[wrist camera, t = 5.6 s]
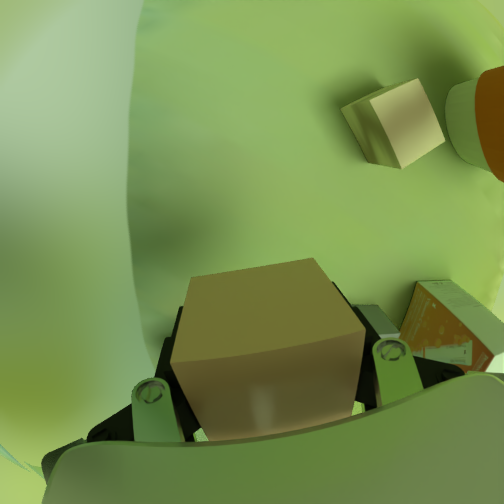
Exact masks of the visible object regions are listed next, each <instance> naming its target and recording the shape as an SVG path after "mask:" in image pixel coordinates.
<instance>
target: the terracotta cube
mask: <svg viewBox="0 0 504 504" xmlns="http://www.w3.org/2000/svg"><path fill="white" fill-rule="evenodd" d="M365 332H366V329H365V327H364V326H363V324H362V323H361V322H360V320H359V319H358V317H357V316H356V315H355V313H354V312H353V311H352V309H351V308H350V306H349V305H348V304H347V302H346V301H345V300H344V298H343V297H342V295H341V294H340V293H339V291H338V290H337V289H336V287H335V286H334V285H333V283H332V282H331V281H330V279H329V278H328V277H327V275H326V274H325V273H324V271H323V270H322V269H321V267H320V266H319V265H318V264H317V262H316V261H315V260H314V258H308V259H302V260H297V261H291V262H285V263H279V264H273V265H267V266H261V267H254V268H248V269H242V270H236V271H229V272H223V273H217V274H210V275H204V276H197V277H191V280H190V284H189V287H188V291H187V295H186V299H185V303H184V306H183V310H182V314H181V318H180V322H179V326H178V331H177V335H176V339H175V343H174V347H173V352H172V356H171V360H170V364H171V366H172V369H173V371H174V373H175V375H176V377H177V380H178V382H179V384H180V386H181V388H182V390H183V392H184V394H185V396H186V398H187V400H188V402H189V404H190V406H191V408H192V410H193V412H194V414H195V416H196V418H197V420H198V422H199V424H200V425H201V427H202V429H203V431H204V433H205V435H206V436H207V438H208V440H209V441H220V440H232V439H241V438H250V437H258V436H265V435H271V434H277V433H283V432H288V431H293V430H298V429H303V428H308V427H312V426H316V425H321V424H325V423H328V422H332V421H336V420H340V419H343V418H347V417H350V416H351V414H352V410H353V405H354V400H355V395H356V390H357V385H358V380H359V374H360V368H361V362H362V355H363V348H364V340H365Z"/></svg>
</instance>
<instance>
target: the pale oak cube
mask: <svg viewBox="0 0 504 504" xmlns="http://www.w3.org/2000/svg"><path fill="white" fill-rule="evenodd" d="M340 110H341V112H342V114H343V115H344V117H345V119H346V121H347V122H348V124H349V126H350V128H351V130H352V132H353V133H354V135H355V137H356V139H357V141H358V143H359V145H360V147H361V149H362V151H363V153H364V155H365V157H366V159H367V161H368V163H371V164H377V165H383V166H388V167H393V168H398V169H403V168H405V167H406V166H408V165H409V164H411V163H412V162H414V161H415V160H417V159H419V158H420V157H422V156H423V155H425V154H426V153H428V152H429V151H431V150H432V149H434V148H435V147H437V146H438V145H440V144H442V143H443V142H445V138H444V136H443V133H442V130H441V128H440V125H439V123H438V120H437V118H436V115H435V113H434V111H433V108H432V106H431V104H430V102H429V99H428V97H427V95H426V93H425V91H424V89H423V87H422V85H421V83H420V81H419V79H418V78H417V79H413V80H409V81H405V82H401V83H397V84H394V85H390V86H387V87H383V88H381V89H379V90H377V91H375V92H373V93H371V94H368V95H366V96H364V97H362V98H360V99H358V100H356V101H354V102H352V103H350V104H348V105H346V106H344V107H342V108H340Z"/></svg>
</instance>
